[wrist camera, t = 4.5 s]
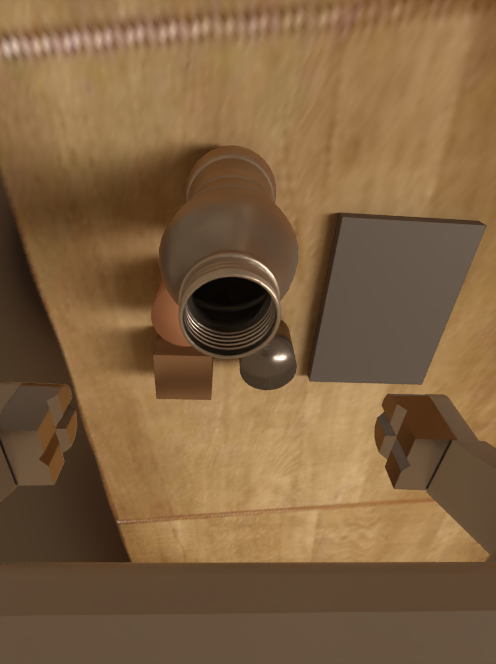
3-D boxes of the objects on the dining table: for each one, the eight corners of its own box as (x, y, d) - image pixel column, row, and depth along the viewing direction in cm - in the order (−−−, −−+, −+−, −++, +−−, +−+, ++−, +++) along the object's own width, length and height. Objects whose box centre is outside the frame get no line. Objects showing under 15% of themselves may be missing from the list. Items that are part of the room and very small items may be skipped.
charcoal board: (339, 212, 32) (342, 217, 31) (479, 221, 33) (486, 225, 32) (307, 373, 41) (309, 381, 40) (417, 377, 42) (421, 384, 41)
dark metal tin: (241, 313, 37) (242, 343, 33) (293, 316, 37) (301, 347, 33) (237, 355, 40) (237, 388, 35) (285, 358, 40) (291, 391, 36)
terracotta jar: (162, 249, 33) (148, 286, 27) (221, 252, 33) (220, 290, 28) (165, 301, 36) (153, 345, 30) (219, 303, 36) (218, 347, 30)
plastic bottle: (287, 197, 31) (355, 337, 14) (218, 242, 33) (206, 412, 16) (244, 120, 28) (265, 184, 11) (170, 175, 30) (93, 299, 13)
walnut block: (161, 323, 37) (152, 354, 33) (213, 325, 38) (211, 356, 33) (164, 365, 40) (156, 398, 36) (212, 366, 40) (211, 399, 36)
